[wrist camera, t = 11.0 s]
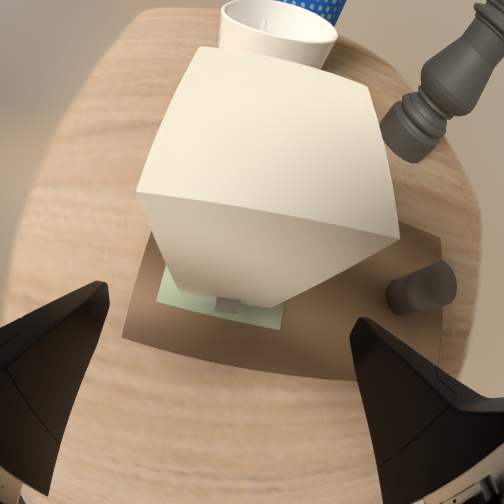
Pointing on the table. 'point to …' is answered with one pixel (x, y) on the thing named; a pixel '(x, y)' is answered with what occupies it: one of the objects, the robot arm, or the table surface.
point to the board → (302, 313)
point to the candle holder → (447, 86)
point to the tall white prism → (265, 180)
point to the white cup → (276, 31)
